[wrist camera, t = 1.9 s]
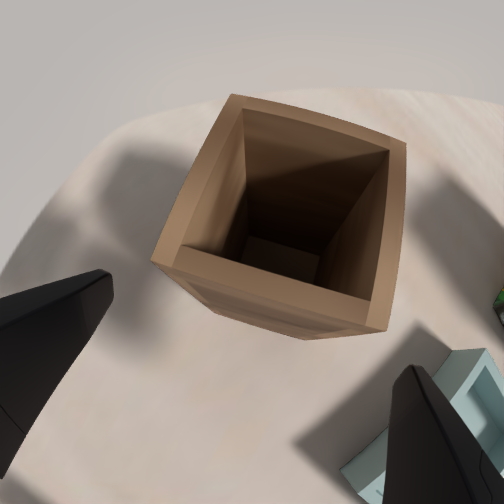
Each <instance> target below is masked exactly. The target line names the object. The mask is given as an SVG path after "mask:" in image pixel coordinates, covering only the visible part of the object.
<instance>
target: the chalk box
mask: <svg viewBox="0 0 504 504" xmlns="http://www.w3.org/2000/svg"><path fill="white" fill-rule="evenodd" d="M493 307H494V308H495V311H496V312H497V314H498V316H499V318H500V320H501V322H502V323H503V326H504V287H503V289H502V291H501V293H500V294H499V296H498V298H497V300H496V301H495V303H494V305H493Z"/></svg>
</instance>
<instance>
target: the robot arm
mask: <svg viewBox="0 0 504 504" xmlns="http://www.w3.org/2000/svg"><path fill="white" fill-rule="evenodd" d="M113 298H114V291H113V279H112V275H111V273H109V272H107V271H105V270H102V269H97V270H93V271H90V272H86V273H83V274H79V275H76V276H73V277H69V278H66V279H62V280H59V281H55V282H52V283H49V284H45V285H42V286H39V287H35V288H32V289H29V290H25V291H22V292H19V293H16V294H12V295H9V296H6V297H3V298H0V479H3V477H4V476H5V474H6V472H7V470H8V468H9V466H10V464H11V462H12V460H13V459H14V457H15V455H16V453H17V451H18V450H19V448H20V446H21V444H22V443H23V441H24V439H25V437H26V435H27V434H28V432H29V430H30V429H31V427H32V425H33V424H34V422H35V420H36V419H37V417H38V415H39V414H40V412H41V411H42V409H43V407H44V406H45V404H46V403H47V401H48V399H49V398H50V396H51V395H52V393H53V392H54V390H55V389H56V387H57V386H58V384H59V383H60V381H61V380H62V378H63V377H64V375H65V374H66V372H67V371H68V370H69V368H70V367H71V365H72V364H73V362H74V361H75V359H76V358H77V357H78V355H79V354H80V352H81V351H82V350H83V348H84V347H85V345H86V344H87V343H88V341H89V340H90V338H91V337H92V335H93V333H94V332H95V330H96V328H97V326H98V325H99V323H100V321H101V320H102V318H103V316H104V315H105V313H106V311H107V310H108V308H109V306H110V305H111V303H112V301H113ZM382 504H504V478H503V477H502V475H501V474H500V473H499V471H498V470H497V469H496V467H495V466H494V464H493V463H492V462H491V460H490V459H489V457H488V456H487V454H486V453H485V451H484V450H483V449H482V447H481V445H480V444H479V442H478V441H477V439H476V438H475V437H474V435H473V434H472V432H471V431H470V429H469V428H468V427H467V425H466V424H465V422H464V421H463V420H462V418H461V417H460V416H459V414H458V413H457V411H456V410H455V409H454V407H453V406H452V405H451V403H450V402H449V401H448V399H447V398H446V397H445V395H444V394H443V393H442V391H441V390H440V389H439V387H438V386H437V385H436V384H435V382H434V381H433V380H432V378H431V377H430V376H429V375H428V373H427V372H426V371H425V369H424V368H423V367H422V366H419V365H414V364H410V365H409V366H407V367H406V369H405V370H404V371H403V372H402V374H401V375H400V376H399V377H398V379H397V380H396V381H395V383H394V386H393V392H392V402H391V411H390V419H389V428H388V441H387V459H386V472H385V482H384V491H383V499H382Z"/></svg>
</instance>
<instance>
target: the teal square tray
mask: <svg viewBox="0 0 504 504" xmlns="http://www.w3.org/2000/svg"><path fill="white" fill-rule="evenodd" d="M432 380H433V381H434V382H435V384H436V385H437V386H438V387H439V389H440V390H441V391H442V393H443V394H444V395H445V397H446V398H447V399H448V401H449V402H450V403H451V405H452V406H453V407H454V409H455V410H456V411H457V413H458V414H459V416H460V417H461V418H462V420H463V421H464V422H465V424H466V425H467V427H468V428H469V429H470V431H471V432H472V434H473V435H474V437H475V438H476V439H477V441H478V442H479V444H480V445H481V447H482V449H483V450H484V451H485V453H486V454H487V456H488V457H489V459H490V460H491V462H492V463H493V464H494V466H495V467H496V469H497V470H498V471H499V473H500V474H501V475H502V477H503V476H504V378H503V376H502V374H501V373H500V371H499V369H498V367H497V365H496V364H495V362H494V360H493V358H492V357H491V355H490V353H489V352H488V350H487V348H480V349H468V350H453V351H452V352H451V354H450V355H449V356H448V358H447V359H446V361H445V362H444V363H443V365H442V366H441V367H440V369H439V370H438V371H437V372H436V374H435V375H434V376H433V377H432ZM388 428H389V426H388V427H387V428H386V429H385V430H384V431H383V432H382V433H381V434H380V435H379V436H378V437H377V438H376V439H375V440H374V441H373V442H372V443H370V444H369V445H368V446H367V447H366V448H365V449H364V450H363V451H361V452H360V453H359V454H358V455H357V456H356V457H354V458H353V459H352V460H351V461H350V462H348V463H347V464H346V465H345V466H343V467H342V468H341V469H340V471H341V472H342V474H343V475H344V476H345V478H346V479H347V481H348V482H349V483H350V485H351V486H352V487H353V489H354V490H355V491H356V493H357V494H358V495H359V496H361V497H362V498H363V499H364V500H365V501H367V502H368V503H369V504H382V499H383V491H384V482H385V472H386V459H387V441H388Z"/></svg>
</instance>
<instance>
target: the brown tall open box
mask: <svg viewBox="0 0 504 504" xmlns="http://www.w3.org/2000/svg"><path fill="white" fill-rule="evenodd" d="M405 193H406V143H405V142H402V141H400V140H397V139H395V138H392V137H390V136H387V135H385V134H382V133H379V132H377V131H374V130H371V129H368V128H365V127H363V126H360V125H357V124H354V123H351V122H348V121H344V120H341V119H338V118H335V117H331V116H328V115H325V114H321V113H317V112H314V111H310V110H306V109H302V108H298V107H294V106H290V105H286V104H282V103H277V102H273V101H268V100H263V99H258V98H253V97H248V96H242V95H236V94H231V95H230V96H229V98H228V100H227V102H226V103H225V105H224V107H223V109H222V110H221V112H220V114H219V116H218V118H217V119H216V121H215V123H214V125H213V127H212V129H211V130H210V132H209V134H208V136H207V138H206V140H205V142H204V144H203V146H202V148H201V149H200V151H199V153H198V155H197V157H196V159H195V161H194V163H193V165H192V167H191V169H190V171H189V173H188V176H187V178H186V180H185V182H184V184H183V186H182V188H181V190H180V192H179V194H178V197H177V199H176V201H175V203H174V205H173V208H172V210H171V212H170V214H169V217H168V219H167V221H166V223H165V226H164V228H163V230H162V233H161V235H160V237H159V240H158V242H157V245H156V247H155V249H154V252H153V254H152V257H151V259H150V261H152V262H153V263H154V264H155V265H156V266H157V267H159V268H160V269H161V270H162V271H163V272H165V273H166V274H167V275H168V276H169V277H171V278H172V279H173V280H174V281H175V282H177V283H178V284H179V285H180V286H181V287H183V288H184V289H185V290H186V291H188V292H189V293H190V294H191V295H193V296H194V297H195V298H196V299H198V300H199V301H200V302H201V303H203V304H204V305H205V306H206V307H208V308H209V309H210V310H211V311H213V312H214V313H216V314H219V315H222V316H225V317H228V318H231V319H235V320H238V321H241V322H244V323H247V324H250V325H254V326H257V327H260V328H263V329H267V330H270V331H274V332H277V333H280V334H284V335H287V336H291V337H294V338H298V339H302V340H315V339H326V338H337V337H346V336H355V335H363V334H371V333H378V332H385V331H387V328H388V323H389V318H390V313H391V308H392V303H393V298H394V292H395V286H396V280H397V274H398V267H399V259H400V252H401V243H402V233H403V223H404V210H405Z"/></svg>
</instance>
